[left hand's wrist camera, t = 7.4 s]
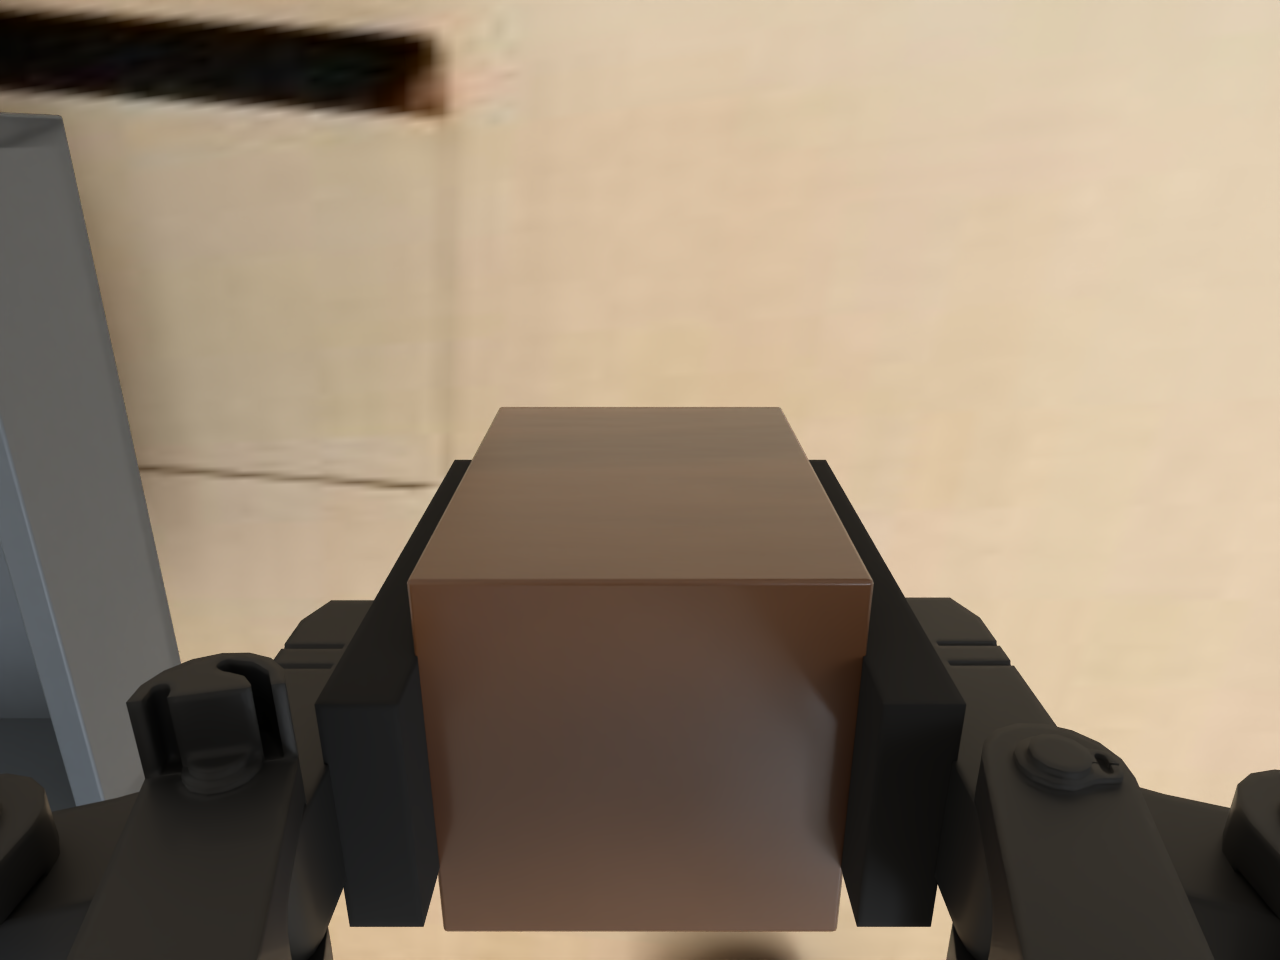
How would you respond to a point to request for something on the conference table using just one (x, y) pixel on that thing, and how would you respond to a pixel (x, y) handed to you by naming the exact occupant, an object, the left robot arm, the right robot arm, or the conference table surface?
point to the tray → (67, 497)
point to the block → (640, 675)
